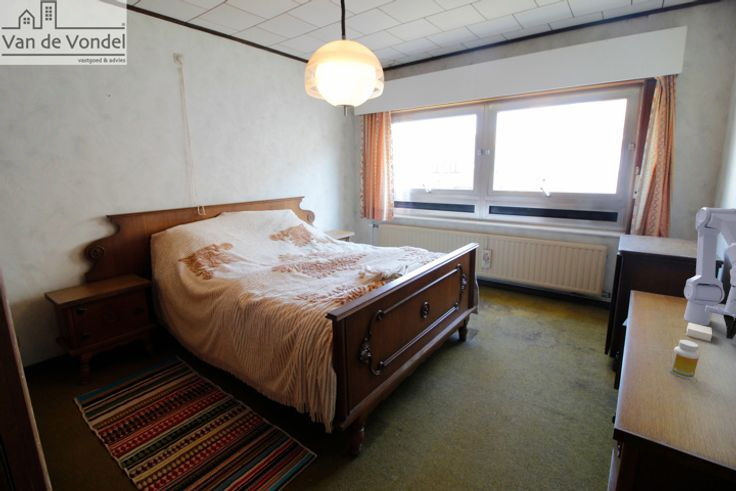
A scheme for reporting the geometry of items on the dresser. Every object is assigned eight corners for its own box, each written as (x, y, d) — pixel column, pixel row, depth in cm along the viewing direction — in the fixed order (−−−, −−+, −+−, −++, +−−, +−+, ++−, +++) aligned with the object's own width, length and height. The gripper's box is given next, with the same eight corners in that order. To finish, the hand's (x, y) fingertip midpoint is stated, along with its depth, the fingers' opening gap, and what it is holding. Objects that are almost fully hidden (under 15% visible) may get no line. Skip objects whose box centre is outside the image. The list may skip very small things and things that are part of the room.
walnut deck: (684, 330, 128) (685, 327, 127) (710, 337, 123) (711, 334, 123) (683, 338, 122) (684, 335, 122) (711, 345, 117) (712, 342, 117)
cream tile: (686, 328, 127) (688, 322, 126) (709, 334, 123) (711, 327, 122) (686, 335, 122) (688, 328, 121) (710, 341, 118) (712, 334, 117)
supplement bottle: (698, 380, 98) (707, 349, 96) (676, 377, 99) (684, 346, 97) (685, 369, 103) (693, 339, 101) (664, 367, 104) (672, 337, 102)
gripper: (710, 296, 116) (699, 334, 119) (775, 309, 106) (762, 350, 109) (709, 291, 121) (699, 327, 124) (772, 303, 111) (759, 342, 115)
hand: (729, 337), depth 117 cm, fingers closed
